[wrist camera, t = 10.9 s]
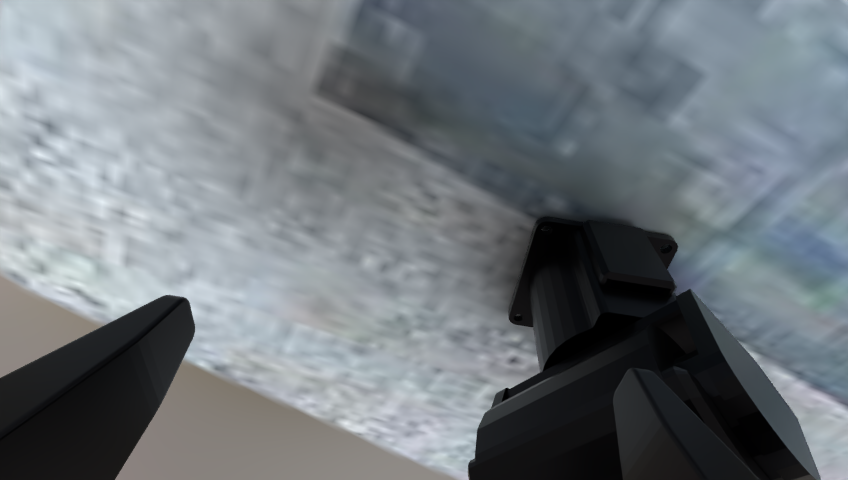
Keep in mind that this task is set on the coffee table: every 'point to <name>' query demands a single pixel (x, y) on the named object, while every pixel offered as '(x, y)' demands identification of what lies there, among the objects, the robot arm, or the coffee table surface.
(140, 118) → the coffee table surface
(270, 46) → the coffee table surface
